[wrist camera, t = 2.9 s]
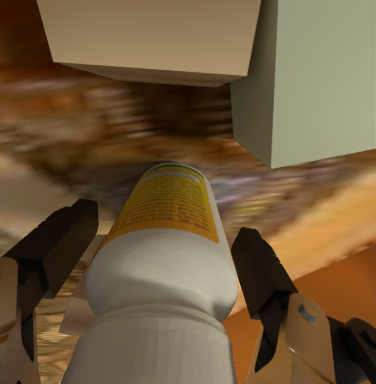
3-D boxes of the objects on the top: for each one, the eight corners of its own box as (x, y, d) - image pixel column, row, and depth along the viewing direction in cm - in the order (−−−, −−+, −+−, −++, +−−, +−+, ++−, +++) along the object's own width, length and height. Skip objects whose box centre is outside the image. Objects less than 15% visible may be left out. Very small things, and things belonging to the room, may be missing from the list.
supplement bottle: (224, 203, 12) (309, 424, 4) (166, 233, 14) (140, 445, 5) (184, 142, 10) (185, 359, 2) (120, 186, 11) (-55, 424, 3)
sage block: (225, 30, 8) (280, -60, 3) (338, 0, 7) (571, -148, 3) (233, 138, 10) (270, 168, 6) (318, 120, 10) (428, 138, 5)
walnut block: (106, 233, 14) (70, 296, 9) (161, 252, 15) (153, 315, 11) (93, 268, 16) (58, 332, 11) (142, 282, 17) (128, 345, 13)
